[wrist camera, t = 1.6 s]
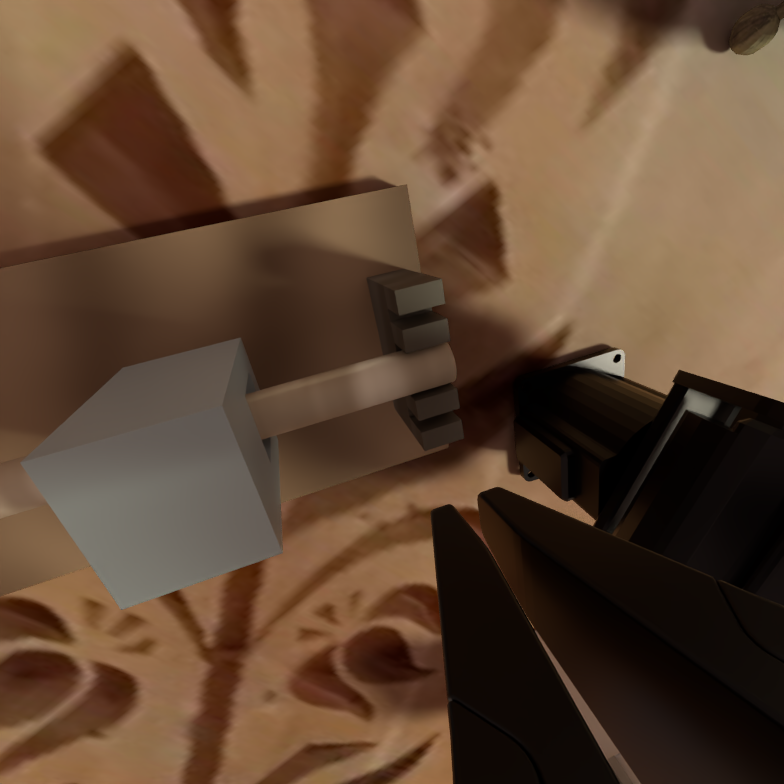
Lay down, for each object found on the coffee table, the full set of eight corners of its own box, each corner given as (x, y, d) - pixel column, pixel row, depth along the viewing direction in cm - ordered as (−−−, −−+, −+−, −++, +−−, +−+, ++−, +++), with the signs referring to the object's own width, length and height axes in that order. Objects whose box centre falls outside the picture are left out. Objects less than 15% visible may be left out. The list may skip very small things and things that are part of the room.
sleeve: (240, 337, 15) (221, 405, 9) (278, 440, 16) (282, 553, 11) (122, 367, 14) (20, 462, 8) (175, 472, 16) (121, 609, 10)
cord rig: (399, 186, 16) (468, 162, 11) (441, 438, 21) (504, 514, 16) (-392, 350, 12) (-990, 457, 6) (-111, 618, 17) (-305, 815, 11)
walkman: (562, 678, 33) (704, 895, 22) (533, 697, 33) (662, 925, 22) (540, 624, 29) (696, 849, 19) (507, 643, 29) (646, 883, 18)
